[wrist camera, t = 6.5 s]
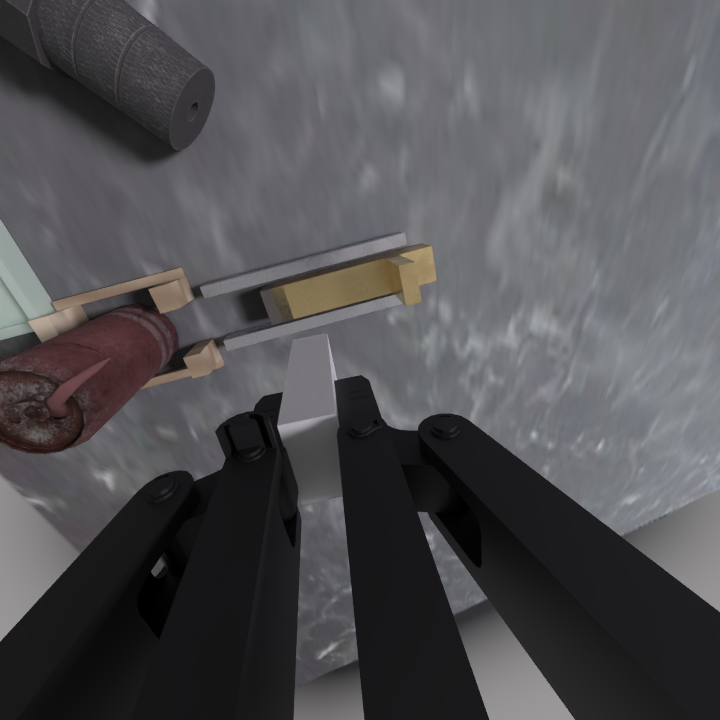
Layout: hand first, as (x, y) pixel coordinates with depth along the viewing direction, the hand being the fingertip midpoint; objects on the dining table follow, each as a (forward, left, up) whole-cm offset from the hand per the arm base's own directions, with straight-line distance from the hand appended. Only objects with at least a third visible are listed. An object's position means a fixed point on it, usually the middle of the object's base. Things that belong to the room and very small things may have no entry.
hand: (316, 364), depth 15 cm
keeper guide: (0, 0, -18) cm, 18 cm away
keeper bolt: (0, +4, -18) cm, 18 cm away
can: (0, -16, -18) cm, 25 cm away
